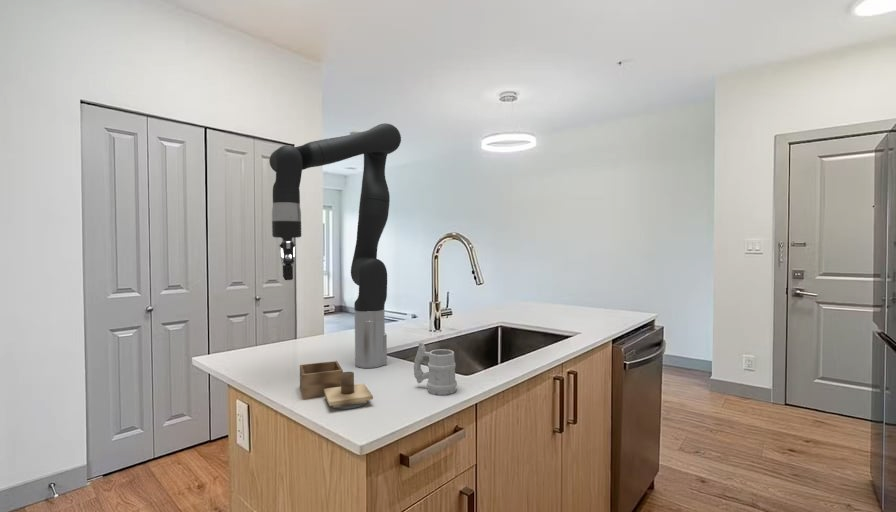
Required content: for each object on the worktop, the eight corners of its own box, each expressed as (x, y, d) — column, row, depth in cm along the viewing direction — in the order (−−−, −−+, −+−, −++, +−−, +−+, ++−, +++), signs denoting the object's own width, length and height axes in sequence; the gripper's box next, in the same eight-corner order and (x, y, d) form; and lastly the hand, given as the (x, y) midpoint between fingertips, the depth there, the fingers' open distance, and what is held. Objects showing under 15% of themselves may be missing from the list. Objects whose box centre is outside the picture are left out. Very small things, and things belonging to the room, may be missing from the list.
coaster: (363, 393, 108) (363, 391, 108) (371, 405, 100) (371, 403, 99) (326, 398, 104) (326, 396, 104) (331, 411, 96) (331, 409, 96)
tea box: (337, 382, 116) (337, 360, 116) (343, 394, 108) (342, 370, 107) (299, 387, 113) (299, 364, 112) (302, 399, 104) (302, 375, 104)
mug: (450, 397, 105) (450, 348, 104) (407, 391, 109) (406, 344, 109) (461, 387, 112) (461, 341, 111) (420, 382, 116) (419, 338, 116)
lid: (364, 390, 108) (363, 365, 108) (372, 403, 99) (372, 376, 99) (323, 396, 104) (323, 370, 104) (329, 410, 95) (328, 382, 95)
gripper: (303, 218, 113) (304, 280, 114) (299, 221, 126) (300, 276, 127) (272, 218, 110) (273, 281, 111) (271, 221, 123) (272, 277, 124)
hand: (287, 278), depth 119 cm, fingers open, 8 cm apart
